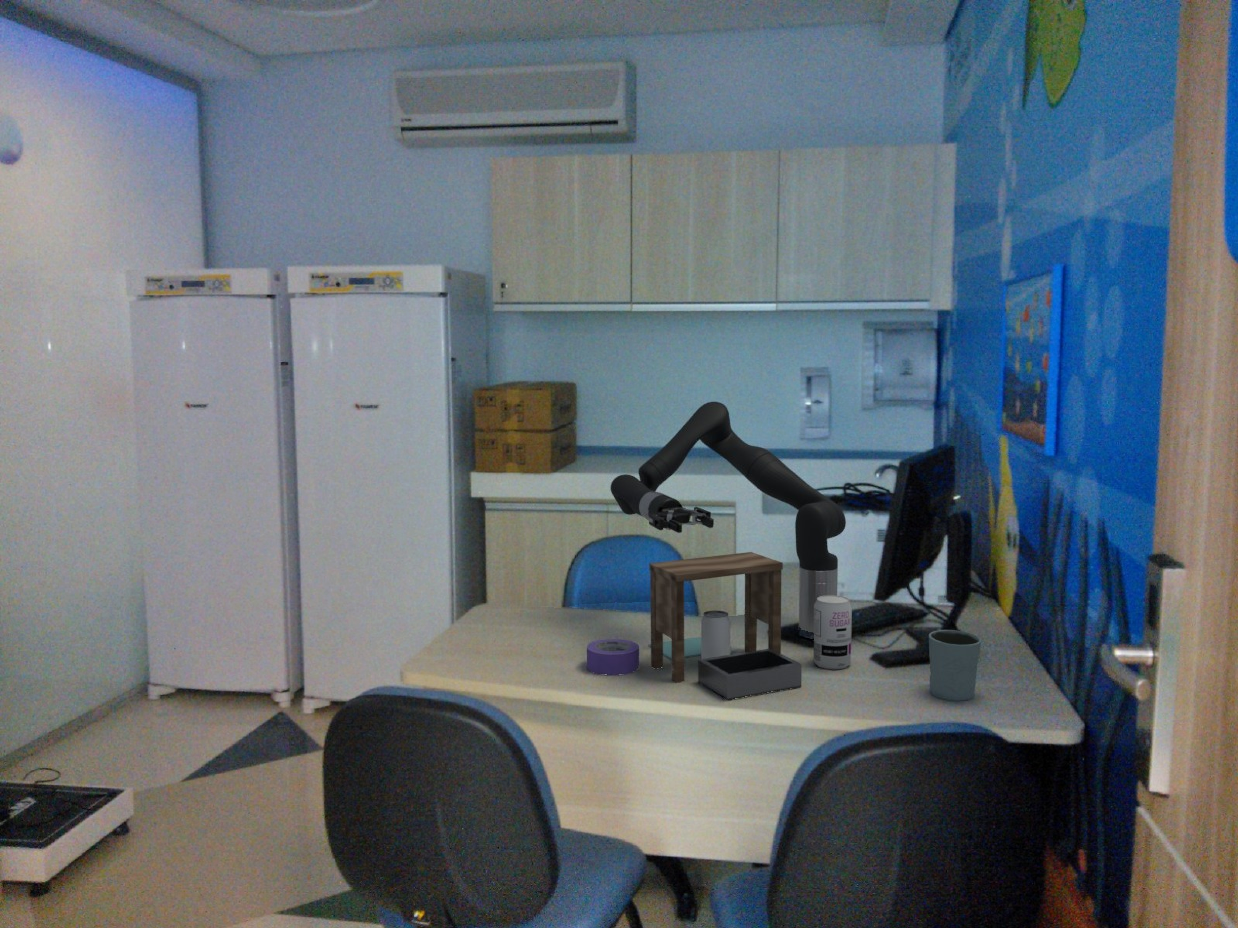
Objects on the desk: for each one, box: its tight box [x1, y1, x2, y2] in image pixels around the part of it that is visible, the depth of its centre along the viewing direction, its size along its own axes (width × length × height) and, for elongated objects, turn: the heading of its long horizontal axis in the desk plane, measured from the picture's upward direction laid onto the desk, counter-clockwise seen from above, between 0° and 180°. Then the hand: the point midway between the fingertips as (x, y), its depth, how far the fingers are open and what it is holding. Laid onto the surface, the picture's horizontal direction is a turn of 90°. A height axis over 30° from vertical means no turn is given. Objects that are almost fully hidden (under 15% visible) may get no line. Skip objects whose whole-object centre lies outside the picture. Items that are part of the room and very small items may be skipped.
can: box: [700, 610, 731, 660], centre depth 219 cm, size 6×6×12 cm
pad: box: [647, 636, 701, 661], centre depth 232 cm, size 12×14×1 cm
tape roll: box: [586, 638, 640, 676], centre depth 220 cm, size 12×12×5 cm
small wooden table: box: [648, 551, 784, 684], centre depth 218 cm, size 13×26×24 cm, turn 115°
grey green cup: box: [928, 629, 982, 702], centre depth 200 cm, size 10×10×12 cm
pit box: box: [697, 648, 803, 701], centre depth 207 cm, size 12×18×5 cm, turn 115°
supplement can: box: [813, 595, 853, 670], centre depth 219 cm, size 8×8×15 cm
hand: (696, 526), depth 224 cm, fingers open, 8 cm apart
